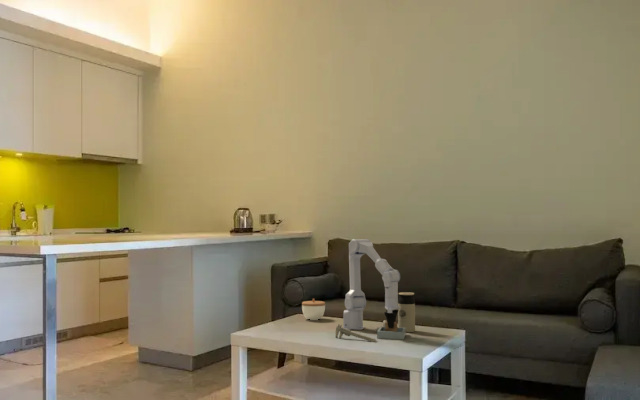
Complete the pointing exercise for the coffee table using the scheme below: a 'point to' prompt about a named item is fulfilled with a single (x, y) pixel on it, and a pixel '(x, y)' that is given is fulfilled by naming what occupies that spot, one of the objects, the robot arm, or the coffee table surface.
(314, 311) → the lidded bowl
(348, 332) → the caliper
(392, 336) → the tray
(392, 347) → the coffee table surface
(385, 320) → the grey peg base
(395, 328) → the block
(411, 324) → the travel mug
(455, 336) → the coffee table surface
